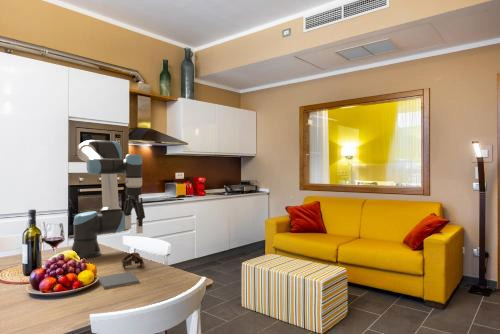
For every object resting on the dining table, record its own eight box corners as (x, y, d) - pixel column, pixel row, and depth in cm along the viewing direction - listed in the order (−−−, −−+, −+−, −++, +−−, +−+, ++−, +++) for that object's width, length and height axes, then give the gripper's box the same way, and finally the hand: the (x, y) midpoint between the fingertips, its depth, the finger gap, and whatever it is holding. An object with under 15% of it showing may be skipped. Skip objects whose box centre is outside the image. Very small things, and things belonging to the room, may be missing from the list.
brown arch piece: (144, 271, 164) (135, 257, 162) (126, 279, 164) (117, 266, 162) (148, 258, 176) (140, 245, 173) (131, 266, 176) (123, 253, 174)
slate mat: (97, 279, 150) (97, 277, 150) (130, 273, 158) (130, 271, 158) (104, 289, 139) (104, 286, 139) (139, 282, 147) (139, 280, 147)
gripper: (116, 185, 173) (116, 228, 173) (136, 188, 154) (136, 236, 155) (131, 185, 178) (131, 226, 178) (152, 187, 159) (152, 234, 159)
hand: (133, 231), depth 166 cm, fingers open, 13 cm apart
